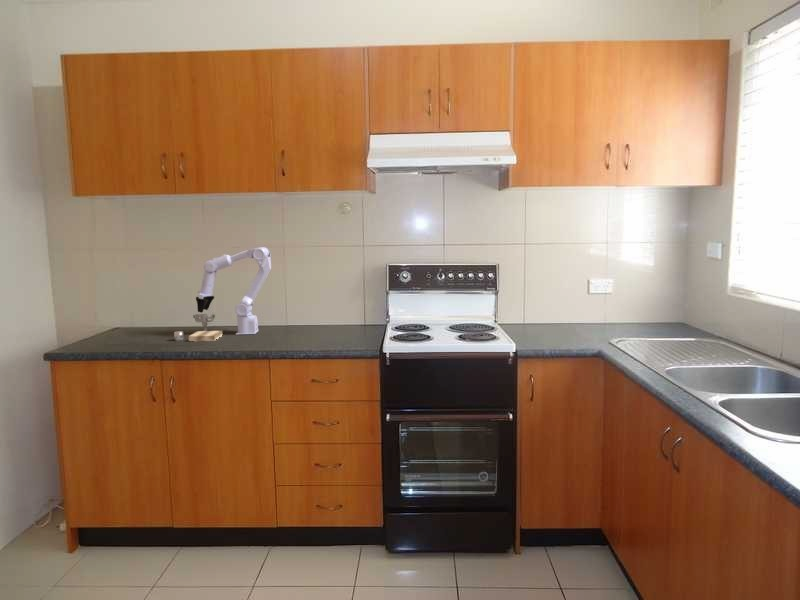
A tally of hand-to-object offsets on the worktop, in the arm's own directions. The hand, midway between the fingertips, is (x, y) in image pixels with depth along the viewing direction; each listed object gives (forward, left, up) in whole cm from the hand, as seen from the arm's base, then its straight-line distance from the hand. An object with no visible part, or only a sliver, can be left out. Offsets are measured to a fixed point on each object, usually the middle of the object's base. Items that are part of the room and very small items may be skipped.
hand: (202, 310), depth 270 cm
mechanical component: (-1, 0, -12) cm, 12 cm away
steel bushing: (+7, +13, -12) cm, 19 cm away
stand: (-5, +11, -12) cm, 17 cm away
